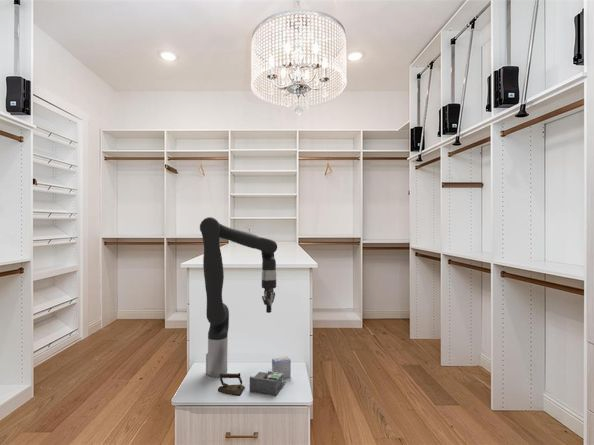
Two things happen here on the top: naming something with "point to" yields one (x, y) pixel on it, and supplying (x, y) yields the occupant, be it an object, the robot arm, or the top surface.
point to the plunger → (270, 375)
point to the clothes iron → (231, 389)
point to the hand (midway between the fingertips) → (268, 312)
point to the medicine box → (282, 366)
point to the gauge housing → (266, 384)
